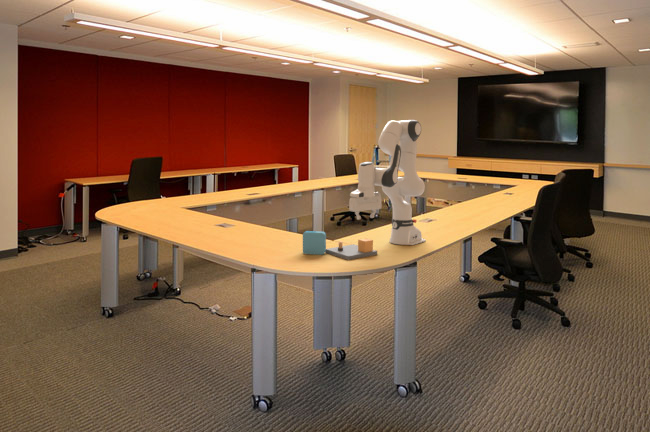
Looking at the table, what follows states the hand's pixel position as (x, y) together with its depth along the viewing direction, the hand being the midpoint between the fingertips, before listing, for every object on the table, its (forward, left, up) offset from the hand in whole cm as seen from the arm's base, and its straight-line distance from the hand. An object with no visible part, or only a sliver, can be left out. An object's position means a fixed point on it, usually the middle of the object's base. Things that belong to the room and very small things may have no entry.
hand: (365, 218), depth 274 cm
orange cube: (0, 0, -18) cm, 18 cm away
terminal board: (+5, -6, -20) cm, 21 cm away
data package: (+21, -18, -20) cm, 34 cm away
